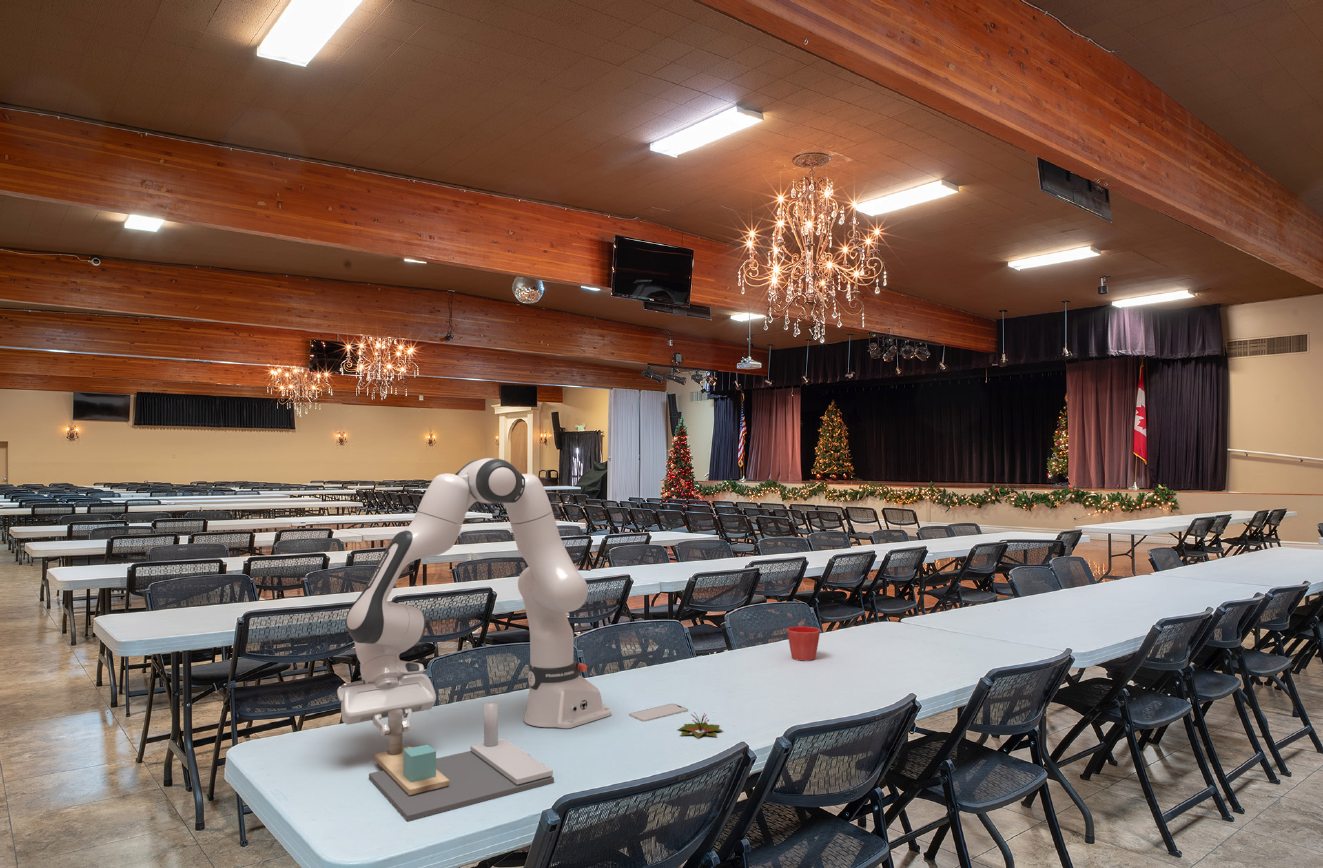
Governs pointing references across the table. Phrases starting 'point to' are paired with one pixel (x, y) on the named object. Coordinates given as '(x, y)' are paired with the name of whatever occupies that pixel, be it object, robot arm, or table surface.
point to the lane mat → (452, 786)
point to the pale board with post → (507, 752)
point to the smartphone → (658, 712)
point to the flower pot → (803, 642)
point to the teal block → (419, 763)
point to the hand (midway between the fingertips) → (396, 732)
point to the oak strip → (394, 759)
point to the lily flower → (699, 728)
